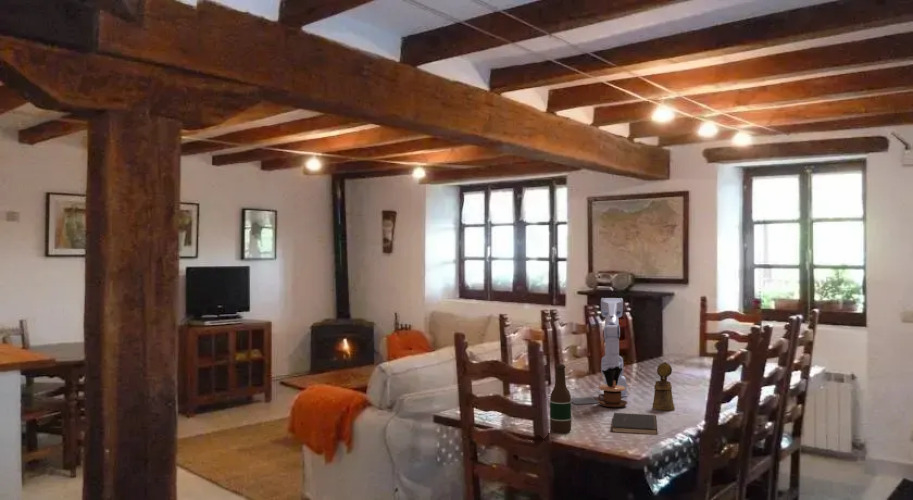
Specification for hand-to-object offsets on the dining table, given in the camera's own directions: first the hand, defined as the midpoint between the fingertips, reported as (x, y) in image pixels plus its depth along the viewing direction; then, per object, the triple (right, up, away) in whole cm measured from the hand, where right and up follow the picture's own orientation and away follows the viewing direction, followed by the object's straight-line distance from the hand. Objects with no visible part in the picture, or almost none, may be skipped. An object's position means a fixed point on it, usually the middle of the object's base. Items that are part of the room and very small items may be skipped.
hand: (612, 385), depth 300 cm
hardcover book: (+1, -9, -34) cm, 35 cm away
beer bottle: (-28, -9, -42) cm, 51 cm away
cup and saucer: (0, -9, 0) cm, 9 cm away
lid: (0, -1, 0) cm, 1 cm away
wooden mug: (+21, -9, -4) cm, 23 cm away
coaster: (-11, -9, +9) cm, 17 cm away
